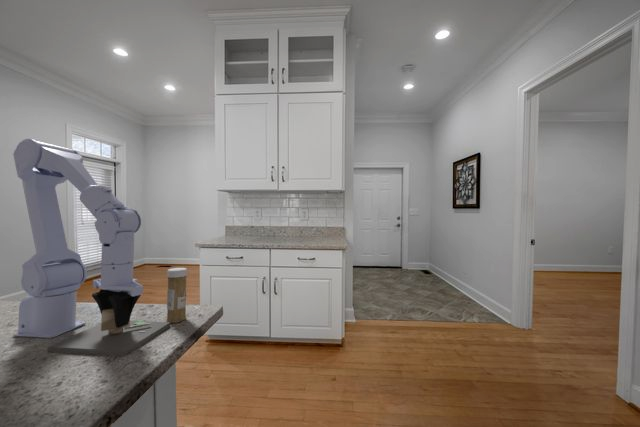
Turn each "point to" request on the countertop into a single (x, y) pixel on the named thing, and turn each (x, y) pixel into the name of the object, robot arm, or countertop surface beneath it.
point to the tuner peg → (109, 323)
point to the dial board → (109, 340)
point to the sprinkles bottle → (176, 295)
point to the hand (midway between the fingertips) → (116, 324)
